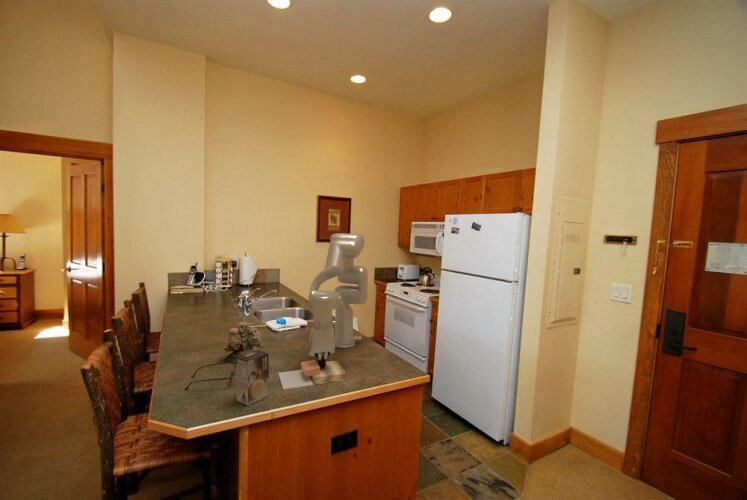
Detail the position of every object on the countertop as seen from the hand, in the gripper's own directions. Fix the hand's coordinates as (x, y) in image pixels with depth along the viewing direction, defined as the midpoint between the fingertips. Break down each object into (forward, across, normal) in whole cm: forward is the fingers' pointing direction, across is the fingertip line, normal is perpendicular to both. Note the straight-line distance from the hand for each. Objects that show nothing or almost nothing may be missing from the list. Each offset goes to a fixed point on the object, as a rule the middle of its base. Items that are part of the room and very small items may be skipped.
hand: (321, 367), depth 140 cm
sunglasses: (+4, +42, -10) cm, 43 cm away
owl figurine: (+4, +29, -30) cm, 42 cm away
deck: (+4, -2, 0) cm, 4 cm away
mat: (+4, +11, 0) cm, 11 cm away
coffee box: (+4, +28, +10) cm, 30 cm away
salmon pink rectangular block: (-1, +5, 0) cm, 5 cm away
